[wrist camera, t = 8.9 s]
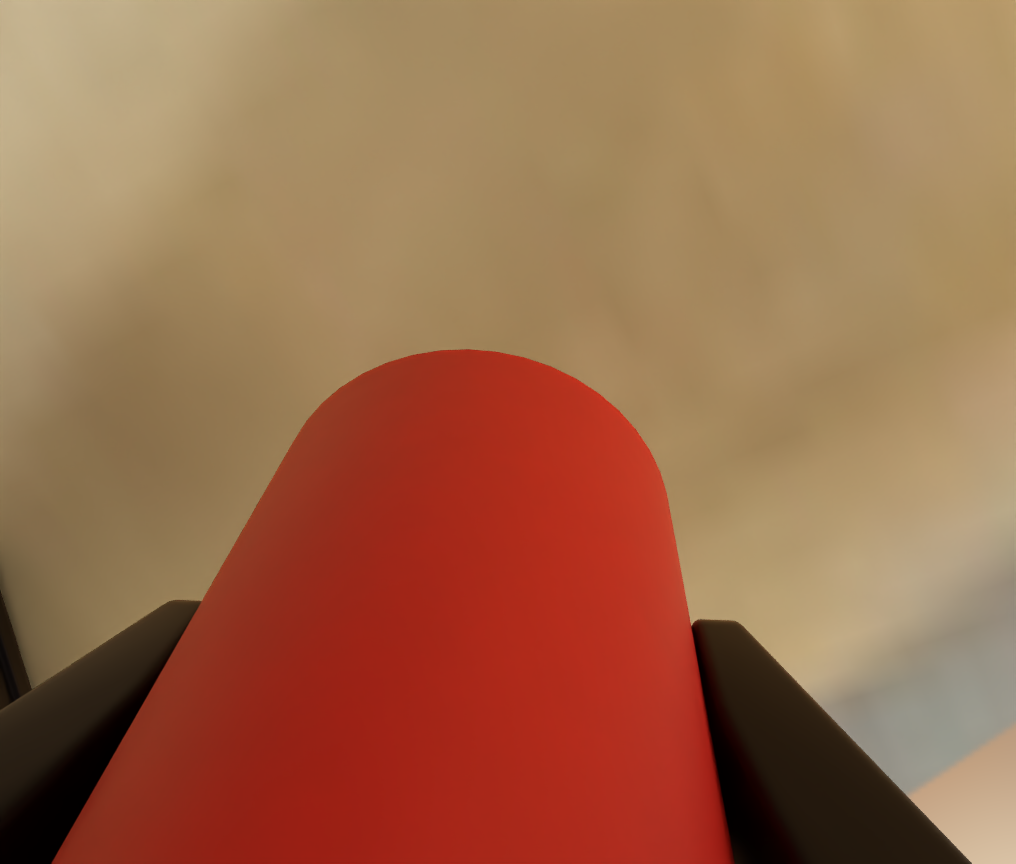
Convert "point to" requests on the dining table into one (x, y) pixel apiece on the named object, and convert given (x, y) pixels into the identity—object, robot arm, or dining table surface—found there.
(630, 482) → the ketchup bottle
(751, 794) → the robot arm
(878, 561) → the dining table surface
